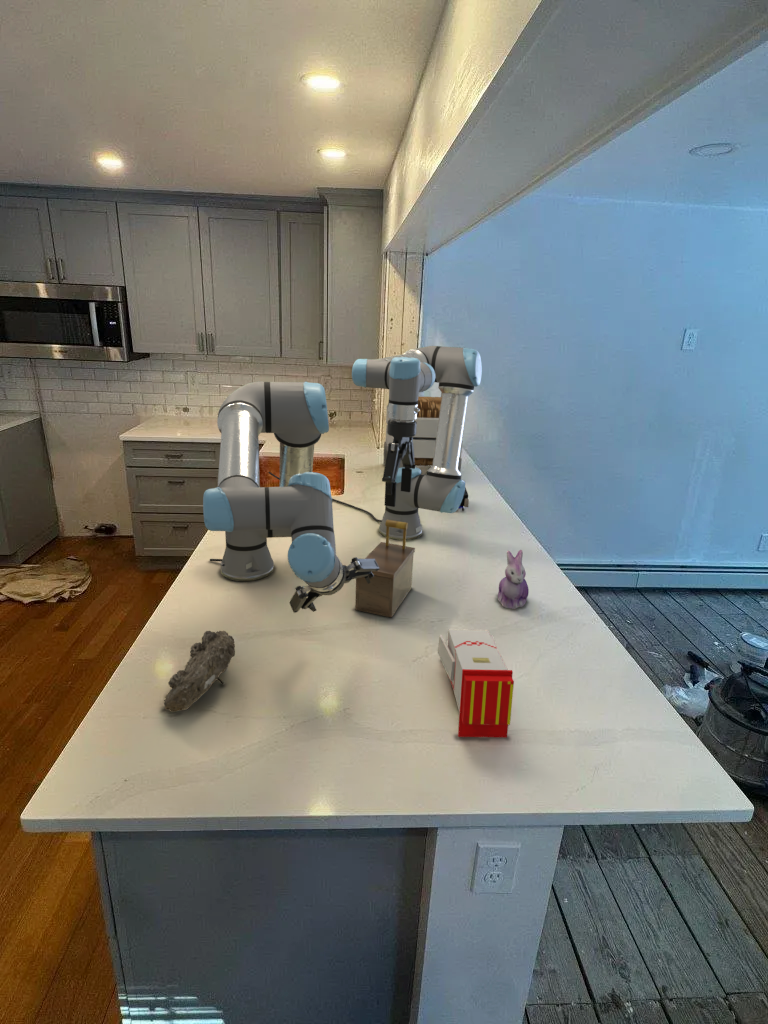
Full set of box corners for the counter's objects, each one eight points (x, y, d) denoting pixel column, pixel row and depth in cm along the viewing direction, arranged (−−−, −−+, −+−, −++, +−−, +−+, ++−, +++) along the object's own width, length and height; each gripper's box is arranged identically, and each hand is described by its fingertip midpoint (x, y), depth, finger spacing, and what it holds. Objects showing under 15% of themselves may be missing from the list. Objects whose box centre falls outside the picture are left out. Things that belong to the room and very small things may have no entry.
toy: (488, 613, 130) (523, 677, 101) (484, 667, 133) (517, 744, 104) (435, 612, 130) (455, 676, 101) (432, 666, 133) (451, 743, 103)
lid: (380, 545, 161) (382, 516, 158) (414, 551, 158) (416, 521, 155) (356, 571, 145) (357, 539, 142) (393, 579, 142) (395, 545, 139)
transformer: (382, 463, 289) (386, 382, 275) (445, 464, 293) (451, 384, 279) (390, 482, 257) (394, 392, 243) (460, 483, 261) (468, 394, 247)
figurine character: (468, 516, 224) (463, 500, 237) (471, 498, 221) (465, 483, 234) (452, 515, 224) (447, 499, 237) (453, 498, 220) (449, 482, 234)
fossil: (188, 633, 127) (235, 602, 122) (218, 661, 130) (265, 632, 125) (141, 705, 107) (195, 672, 102) (177, 737, 110) (232, 706, 105)
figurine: (511, 613, 150) (518, 561, 145) (487, 596, 158) (493, 547, 153) (538, 606, 154) (546, 556, 149) (513, 590, 163) (520, 542, 157)
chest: (378, 582, 164) (379, 547, 160) (411, 588, 161) (413, 553, 157) (355, 609, 149) (356, 571, 145) (391, 617, 146) (393, 579, 142)
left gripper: (272, 621, 105) (296, 632, 125) (391, 560, 107) (396, 581, 127) (256, 585, 107) (283, 602, 128) (374, 526, 109) (381, 552, 130)
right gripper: (401, 430, 133) (396, 514, 140) (429, 413, 155) (424, 487, 163) (371, 426, 135) (368, 510, 143) (403, 411, 158) (399, 484, 165)
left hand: (339, 591), depth 127 cm, fingers open, 13 cm apart
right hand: (398, 498), depth 153 cm, fingers open, 13 cm apart
